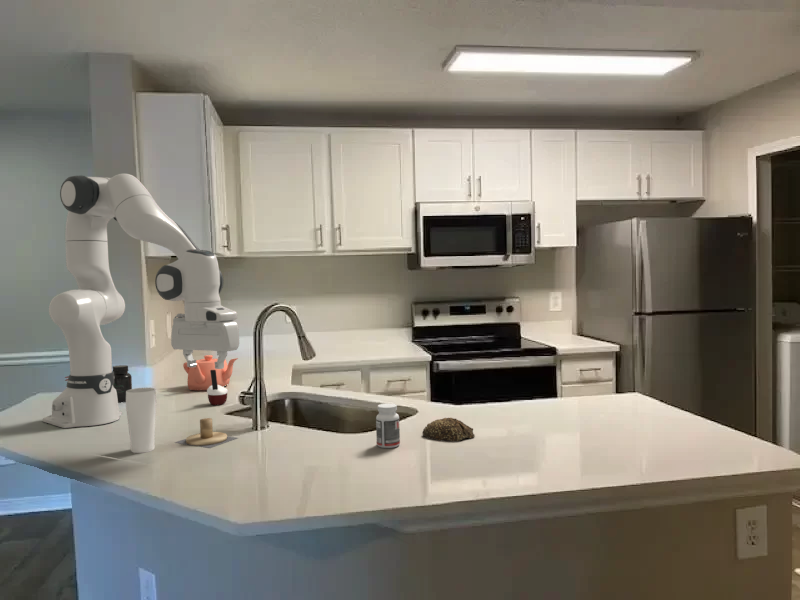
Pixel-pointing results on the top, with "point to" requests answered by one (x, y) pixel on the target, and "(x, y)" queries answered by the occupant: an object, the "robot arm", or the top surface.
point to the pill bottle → (387, 426)
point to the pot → (207, 373)
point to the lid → (206, 435)
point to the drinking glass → (141, 418)
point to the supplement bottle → (122, 381)
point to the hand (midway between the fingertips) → (205, 367)
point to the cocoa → (216, 391)
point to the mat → (209, 445)
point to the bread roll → (448, 430)
